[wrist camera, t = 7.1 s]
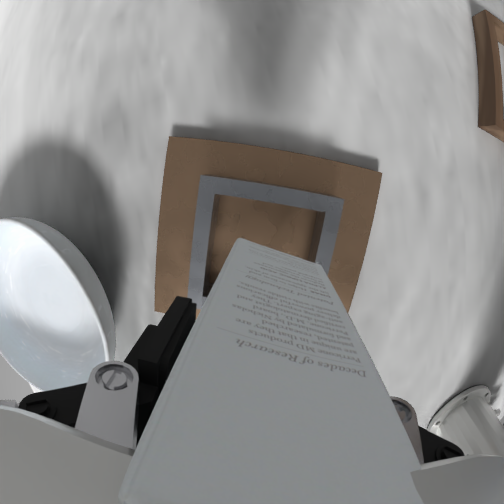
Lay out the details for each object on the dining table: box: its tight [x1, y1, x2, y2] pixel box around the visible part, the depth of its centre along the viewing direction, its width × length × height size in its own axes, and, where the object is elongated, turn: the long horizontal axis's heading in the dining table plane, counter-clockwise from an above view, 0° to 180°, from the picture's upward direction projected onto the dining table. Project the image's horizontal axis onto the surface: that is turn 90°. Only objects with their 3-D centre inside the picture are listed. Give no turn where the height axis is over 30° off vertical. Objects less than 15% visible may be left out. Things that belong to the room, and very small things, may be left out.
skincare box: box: [118, 238, 424, 504], centre depth 8 cm, size 6×4×12 cm
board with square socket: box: [155, 136, 382, 319], centre depth 23 cm, size 18×16×4 cm
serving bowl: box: [0, 217, 116, 391], centre depth 25 cm, size 21×21×7 cm
